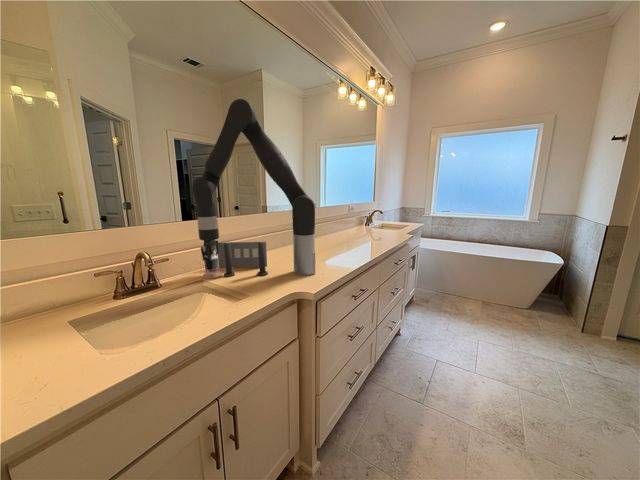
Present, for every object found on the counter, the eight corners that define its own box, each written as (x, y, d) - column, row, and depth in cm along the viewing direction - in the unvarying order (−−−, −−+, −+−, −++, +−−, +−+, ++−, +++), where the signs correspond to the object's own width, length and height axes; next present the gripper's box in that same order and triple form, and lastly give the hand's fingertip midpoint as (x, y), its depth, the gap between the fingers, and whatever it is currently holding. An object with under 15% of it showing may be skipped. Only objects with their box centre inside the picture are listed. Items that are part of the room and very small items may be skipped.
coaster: (224, 272, 112) (224, 271, 112) (219, 278, 104) (219, 277, 104) (206, 273, 112) (206, 272, 111) (199, 279, 104) (199, 278, 104)
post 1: (235, 273, 111) (233, 242, 108) (233, 276, 107) (231, 244, 104) (225, 273, 110) (223, 242, 108) (222, 277, 106) (219, 244, 103)
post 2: (268, 272, 112) (267, 241, 109) (267, 275, 108) (265, 243, 105) (258, 272, 112) (256, 241, 109) (256, 276, 107) (255, 243, 105)
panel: (267, 265, 122) (266, 241, 119) (266, 267, 119) (265, 242, 117) (219, 267, 120) (217, 242, 117) (218, 268, 118) (216, 243, 115)
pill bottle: (221, 270, 109) (219, 250, 107) (212, 274, 104) (210, 253, 103) (211, 269, 111) (209, 249, 109) (202, 272, 106) (200, 252, 104)
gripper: (212, 230, 97) (215, 272, 101) (222, 224, 111) (225, 262, 115) (191, 230, 97) (196, 273, 100) (205, 225, 111) (208, 262, 114)
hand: (212, 267), depth 107 cm, fingers closed on pill bottle, 5 cm apart
